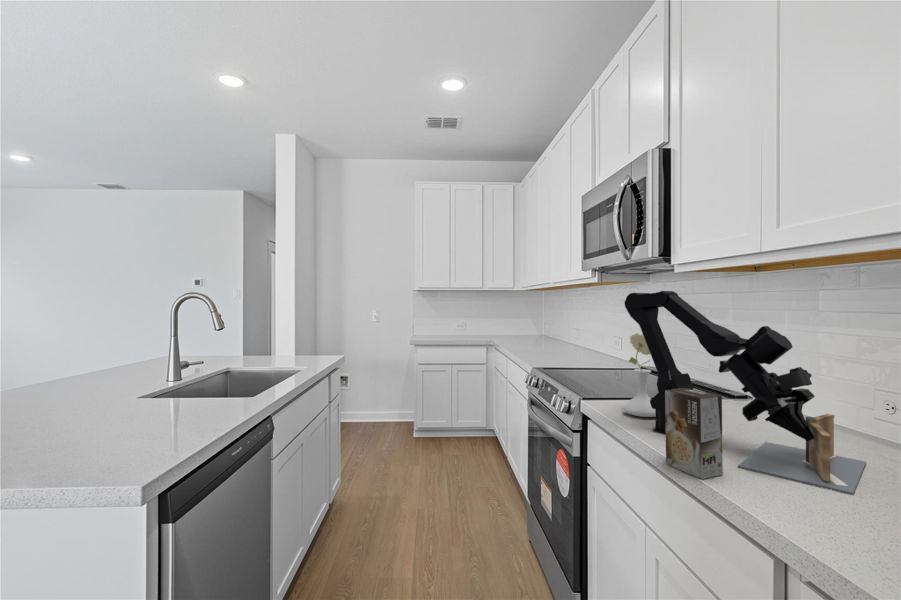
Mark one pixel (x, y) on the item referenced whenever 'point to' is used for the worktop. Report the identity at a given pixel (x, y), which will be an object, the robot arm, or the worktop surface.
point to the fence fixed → (827, 425)
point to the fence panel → (820, 451)
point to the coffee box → (694, 432)
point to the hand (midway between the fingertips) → (811, 439)
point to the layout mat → (804, 467)
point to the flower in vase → (640, 382)
